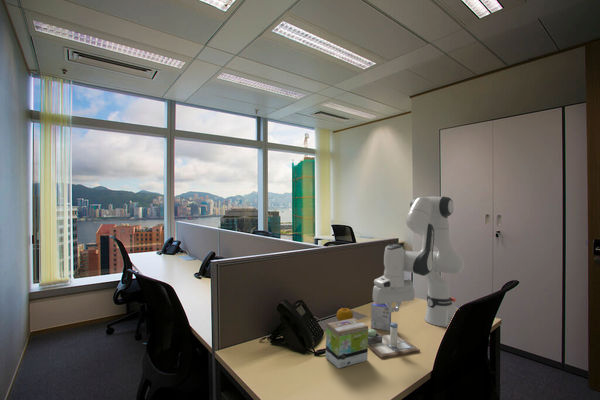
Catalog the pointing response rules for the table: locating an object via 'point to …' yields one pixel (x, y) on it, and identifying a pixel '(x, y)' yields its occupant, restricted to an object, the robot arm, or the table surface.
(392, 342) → the cylinder
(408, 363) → the table surface
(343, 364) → the tea box
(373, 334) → the button
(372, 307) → the ink cartridge box
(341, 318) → the apple
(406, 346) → the brown shallow tray
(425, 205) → the robot arm
